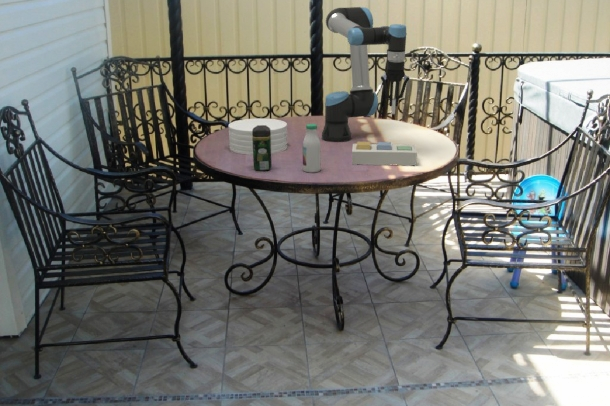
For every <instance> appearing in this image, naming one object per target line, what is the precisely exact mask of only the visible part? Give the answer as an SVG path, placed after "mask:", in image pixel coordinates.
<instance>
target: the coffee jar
mask: <svg viewBox="0 0 610 406" xmlns="http://www.w3.org/2000/svg"><path fill="white" fill-rule="evenodd" d="M252 141H253V155H252V157H253V158H252V160H253V169H254V170H255V171H260V172H264V171H270V170H271V169H272V166H273V165H272V154H271V133H270V128H269V127H267V126H266V125H258V126H256V127H254V128H253V130H252Z"/></svg>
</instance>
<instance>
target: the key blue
mask: <svg viewBox="0 0 610 406" xmlns="http://www.w3.org/2000/svg"><path fill="white" fill-rule="evenodd" d="M376 144H377V150H391V144H392V143H391V141H377V142H376Z"/></svg>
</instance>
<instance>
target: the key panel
mask: <svg viewBox="0 0 610 406" xmlns="http://www.w3.org/2000/svg"><path fill="white" fill-rule="evenodd" d="M397 146H411V149H412V150H397ZM351 151H352V152H351V165H352V166H355V165H356V166H358V165H357V164H368V165H367V166H392V165H393V164H397V165H416V166H417V156H418V154H417V153H418V151H417V148H416V145H415V144H400V143H399V144H398V143H397V144H396V143H395V144H394V143H393V144H392V143H391V150H377V143H371V150H359V149H357V143H352V150H351ZM390 164H392V165H390Z"/></svg>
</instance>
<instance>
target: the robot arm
mask: <svg viewBox="0 0 610 406" xmlns="http://www.w3.org/2000/svg"><path fill="white" fill-rule="evenodd" d="M325 25H326V27H327V29H328V30H329V31H331V32H332V33H334V34H340V35H342V36H343V37H345V38H347V42H348V45H349V46H350V47H349V50H350V51H349V53H350V67H351V80H352V83H351V84H352V88H350V90H349V92H348V91H346V90H343V91H334V92H330V93H328V94H327V95H326V96H325V100H324V101H325V103H324V108H325V109H324V115H325V116H324V119H325V121H324V122H325V123H324V125H323V129H322V132H321V140H322V141H326V142H331V143H332V142H334V143H341V142H342V143H343V142H347V141H351V140H352V131H351V128H350V126H349V125H350V124H349V118H360V117H361V118H363V117H364V118H365V117H371V116H373V115H374V114H375V113H376V112H377V110H378V106H379V97H378V94H377V93H376V92H374V88H372V86H370V72H369V71H370V70H369V56H368V46H372V45H373V46H375V45H378V46H379V45H387V60H388V61H387V62H386V72H385V73H384V75H381V76H380V79H381V81H382V84H383V88H384V95H385V97H386V99H389V104H388V105H389V107H391V111H390V112H391V115H395V114H396V107H398V105H399V100H400V99H403V97H404V93H405V90H406V88H407V84H408V83H409V81H410V77H409V76H408V75H406V73H405V59H406V43H407V25H405V24H398V23H396V24H395V23H393V24H390V25H386V26H384V25H382V26H380V27H379V26H378V27H376V26H375V27H374V17H373V15H372V12H371V11H370V9H369V8H368V7H362V6H356V7H355V6H352V7H337V8H334V9H332V10H331V11H329V13H328V14H327V15H326V18H325ZM387 79H388V80H389V82H390V83H389V90H388V87H387V81H386V80H387ZM402 80H403V83H402V86H401V89H400V82H401V81H402ZM394 83H395V98H393V96H394V95H393V94H394ZM350 139H351V140H350Z"/></svg>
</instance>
